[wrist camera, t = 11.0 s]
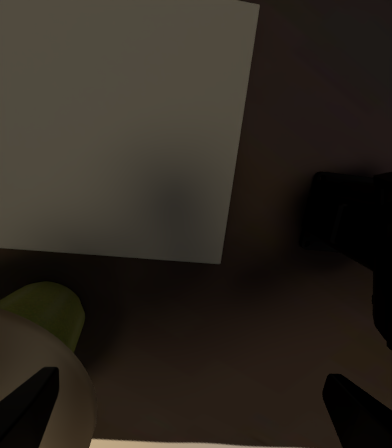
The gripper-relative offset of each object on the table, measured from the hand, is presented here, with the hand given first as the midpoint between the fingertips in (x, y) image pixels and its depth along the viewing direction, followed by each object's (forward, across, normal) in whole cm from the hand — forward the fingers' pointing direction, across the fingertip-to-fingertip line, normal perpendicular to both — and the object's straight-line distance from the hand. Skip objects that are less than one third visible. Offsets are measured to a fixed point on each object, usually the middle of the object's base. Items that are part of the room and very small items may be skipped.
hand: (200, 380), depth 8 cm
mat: (+13, +6, -8) cm, 16 cm away
